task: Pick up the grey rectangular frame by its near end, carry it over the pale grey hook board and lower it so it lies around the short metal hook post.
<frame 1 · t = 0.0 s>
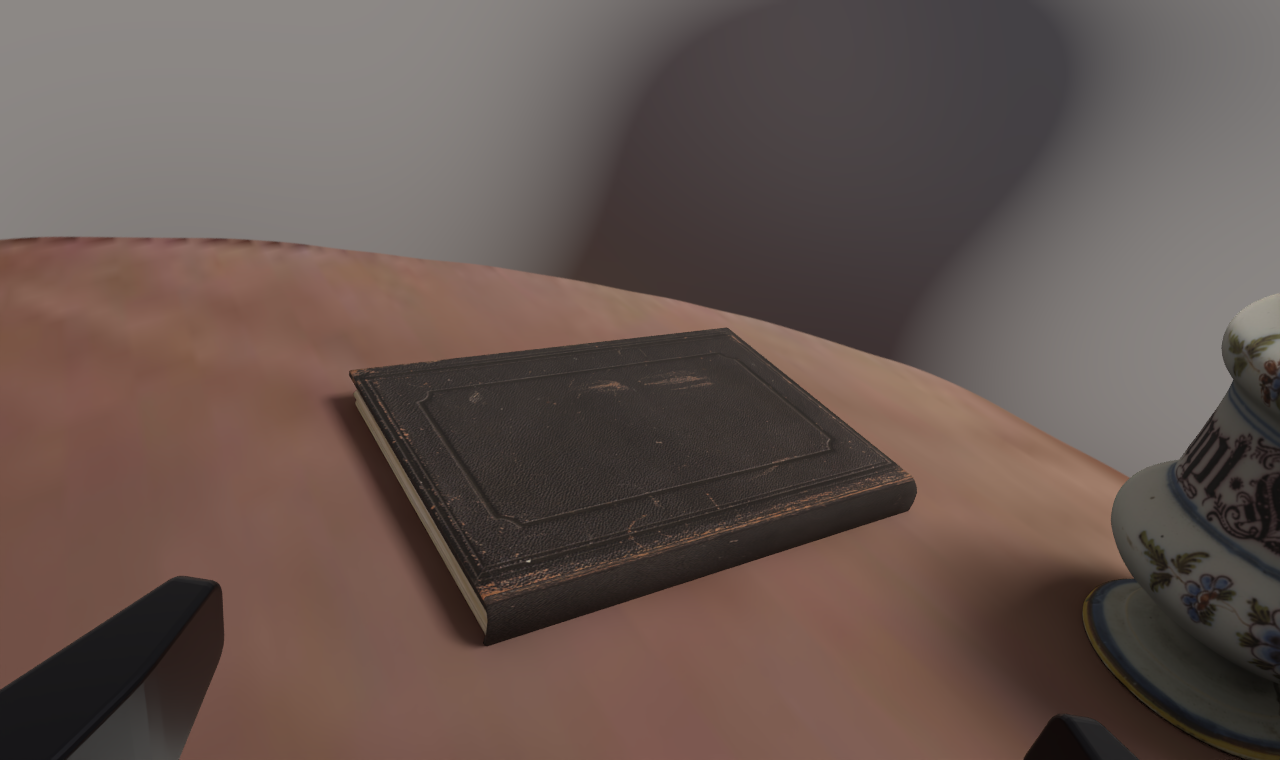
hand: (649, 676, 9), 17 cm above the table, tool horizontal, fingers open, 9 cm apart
hardcover book: (633, 469, 42), on the table
apothecary jar: (1194, 668, 37), on the table
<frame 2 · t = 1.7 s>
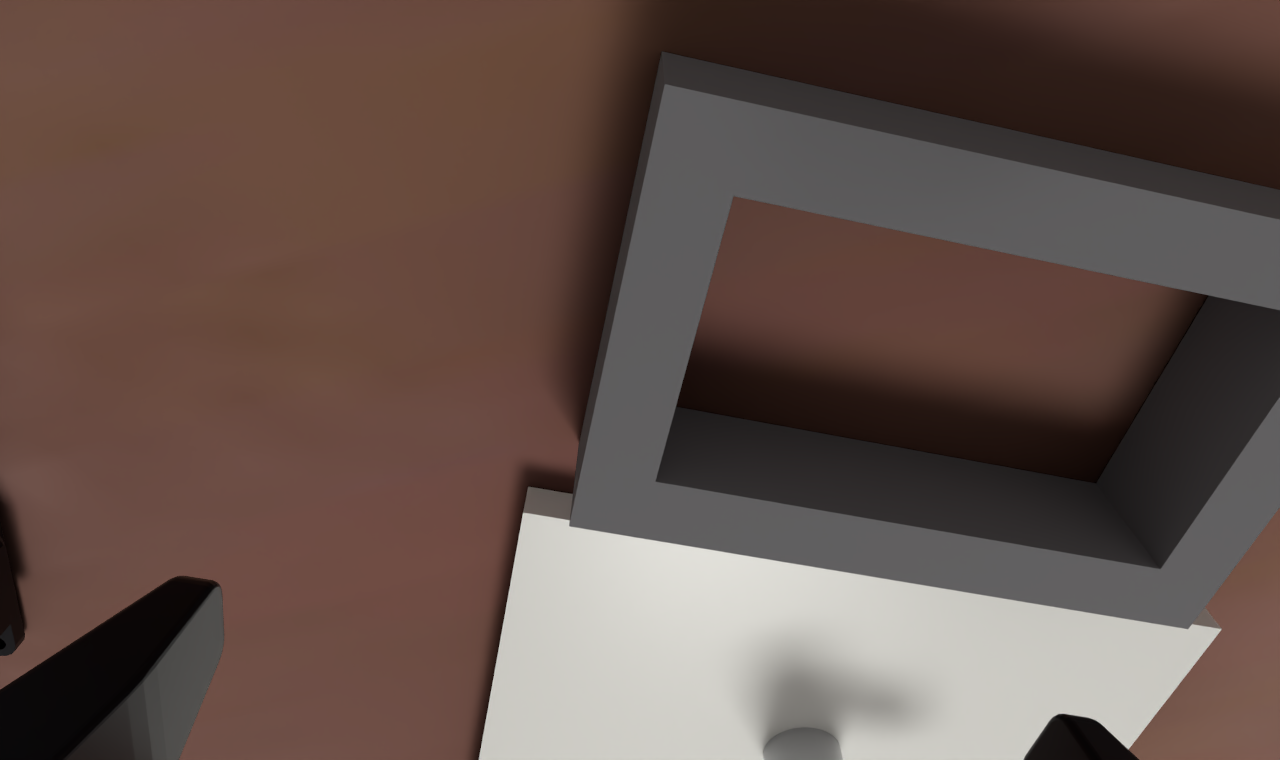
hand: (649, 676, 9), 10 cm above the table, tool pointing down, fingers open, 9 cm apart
grey rectangular frame: (928, 333, 19), on the table
hook board: (796, 722, 25), on the table
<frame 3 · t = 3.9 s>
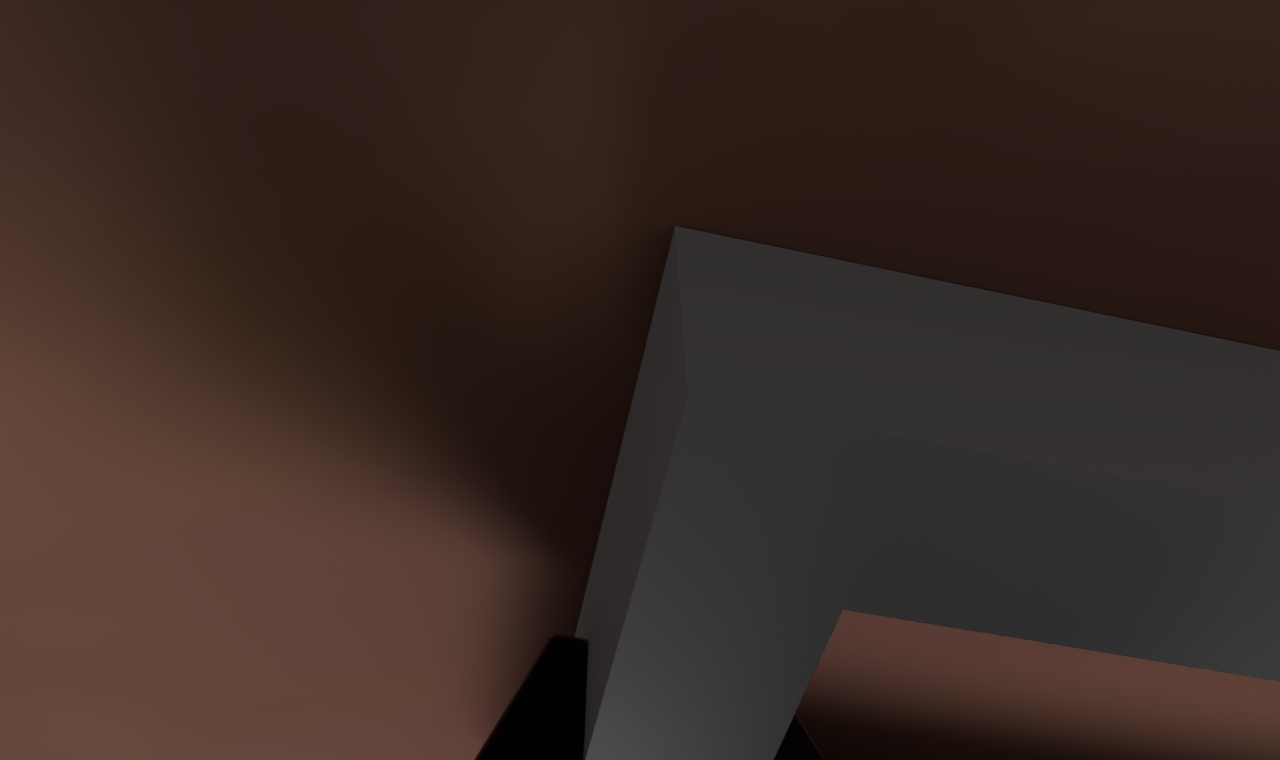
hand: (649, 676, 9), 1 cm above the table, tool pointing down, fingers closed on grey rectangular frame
grey rectangular frame: (1135, 671, 11), on the table, touching gripper
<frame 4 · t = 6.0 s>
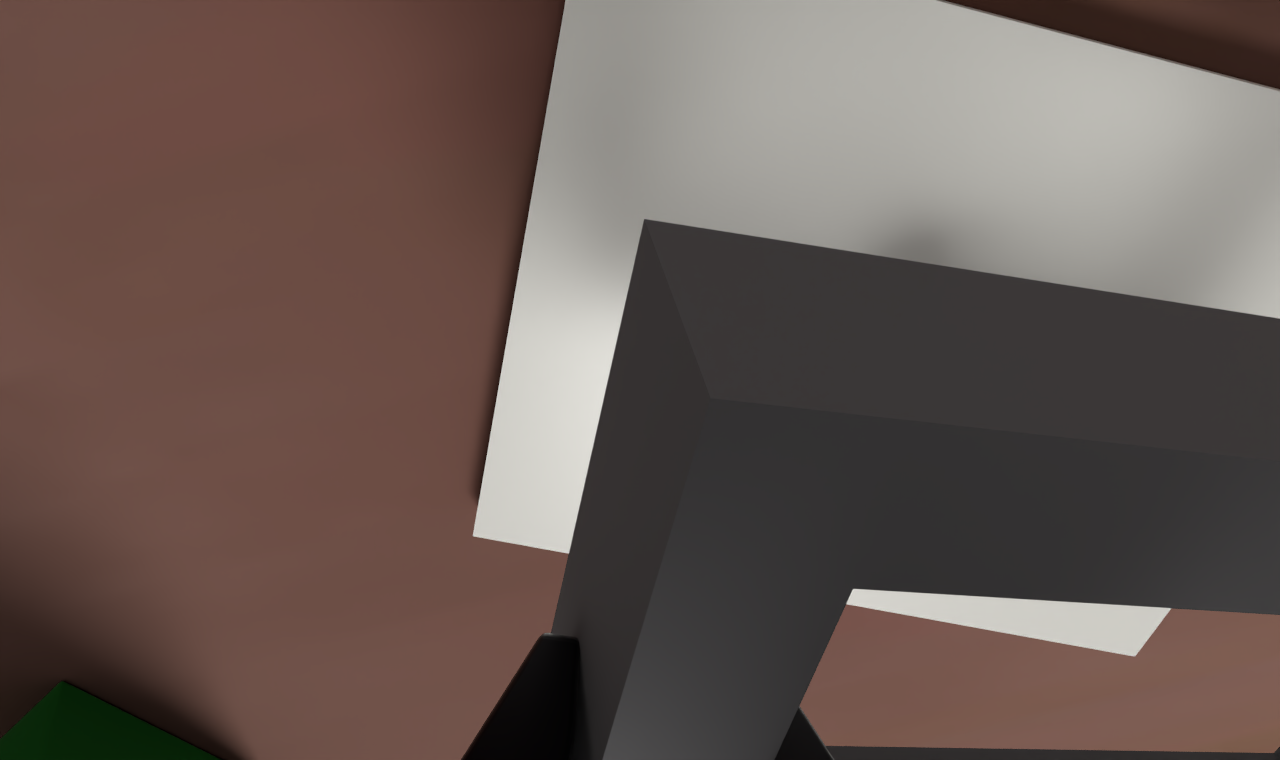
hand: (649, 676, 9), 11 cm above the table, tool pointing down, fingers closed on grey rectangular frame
grey rectangular frame: (1074, 609, 11), point 9 cm above the table, tilted 8°, touching gripper
hook board: (911, 348, 19), on the table
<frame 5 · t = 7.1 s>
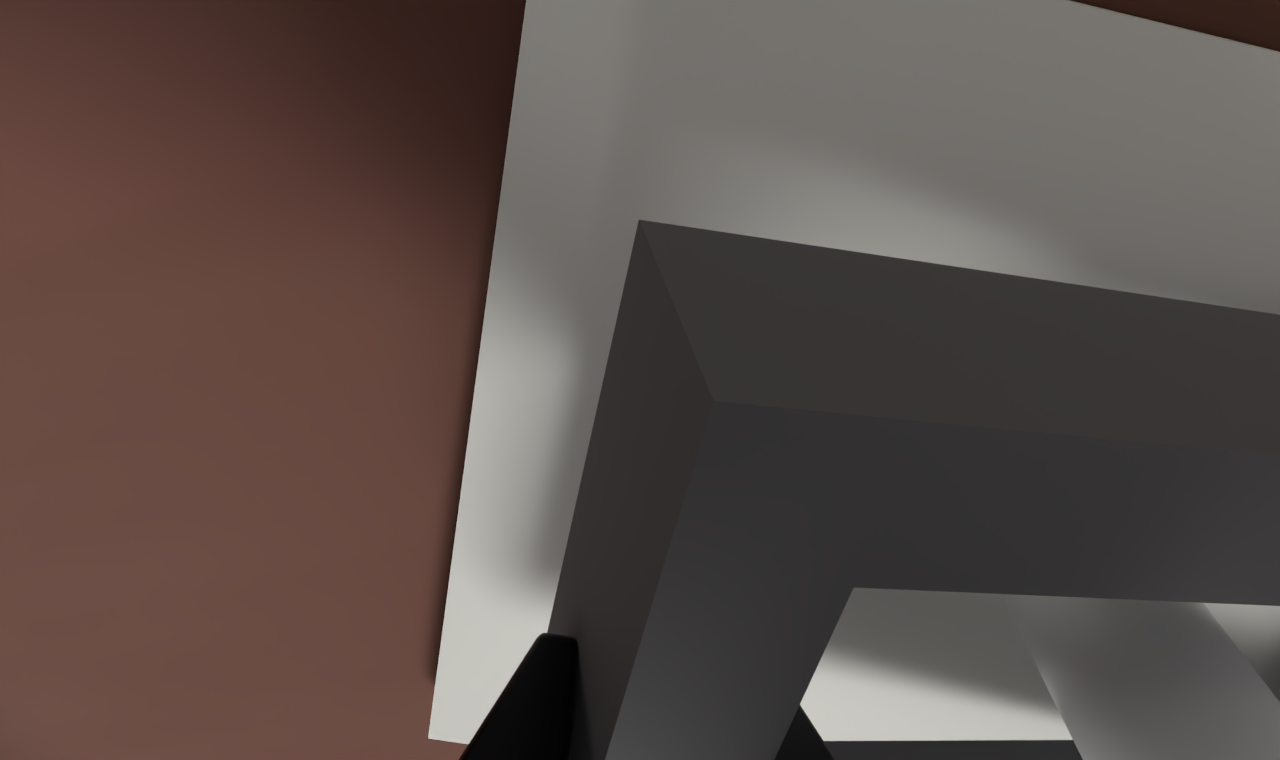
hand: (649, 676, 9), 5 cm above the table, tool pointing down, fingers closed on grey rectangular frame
grey rectangular frame: (1065, 601, 12), point 3 cm above the table, tilted 10°, touching gripper
hook board: (1028, 493, 14), on the table
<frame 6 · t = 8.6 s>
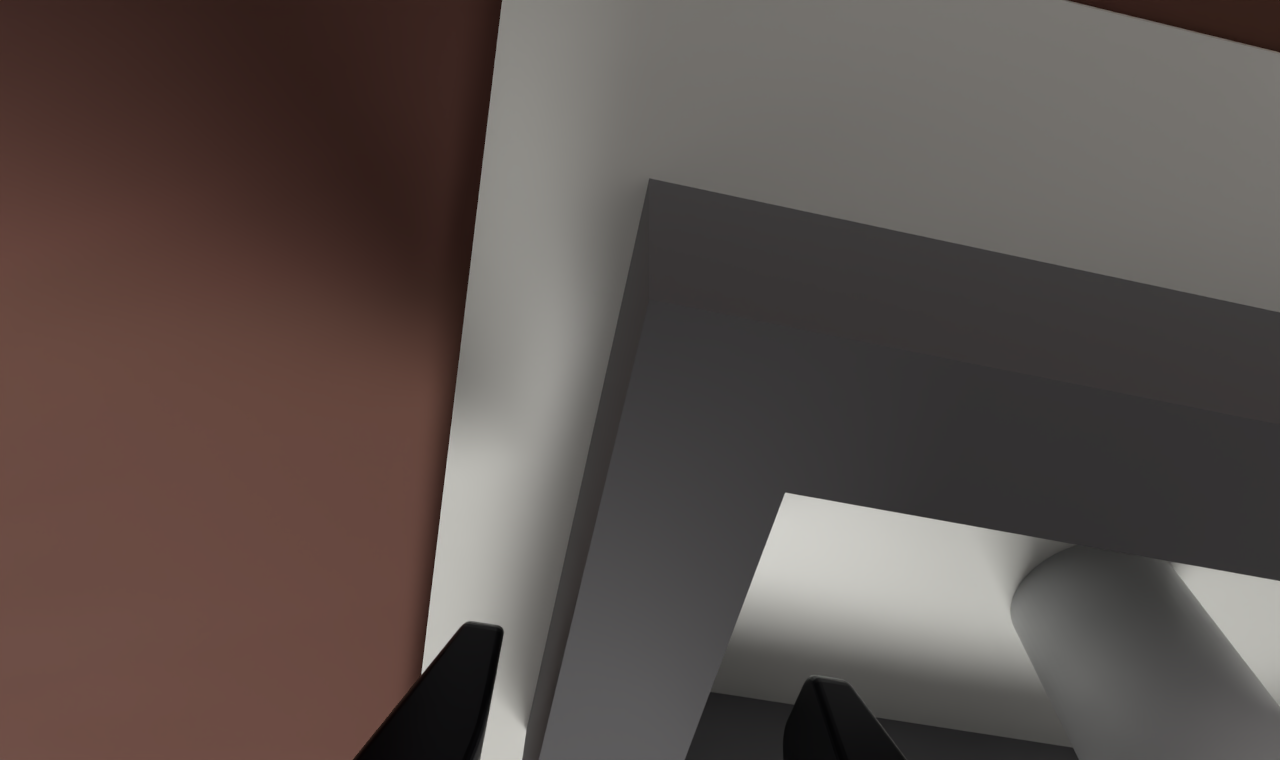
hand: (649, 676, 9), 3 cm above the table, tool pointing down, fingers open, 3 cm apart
grey rectangular frame: (1073, 595, 12), point 1 cm above the table, touching hook board
hook board: (1061, 551, 13), on the table
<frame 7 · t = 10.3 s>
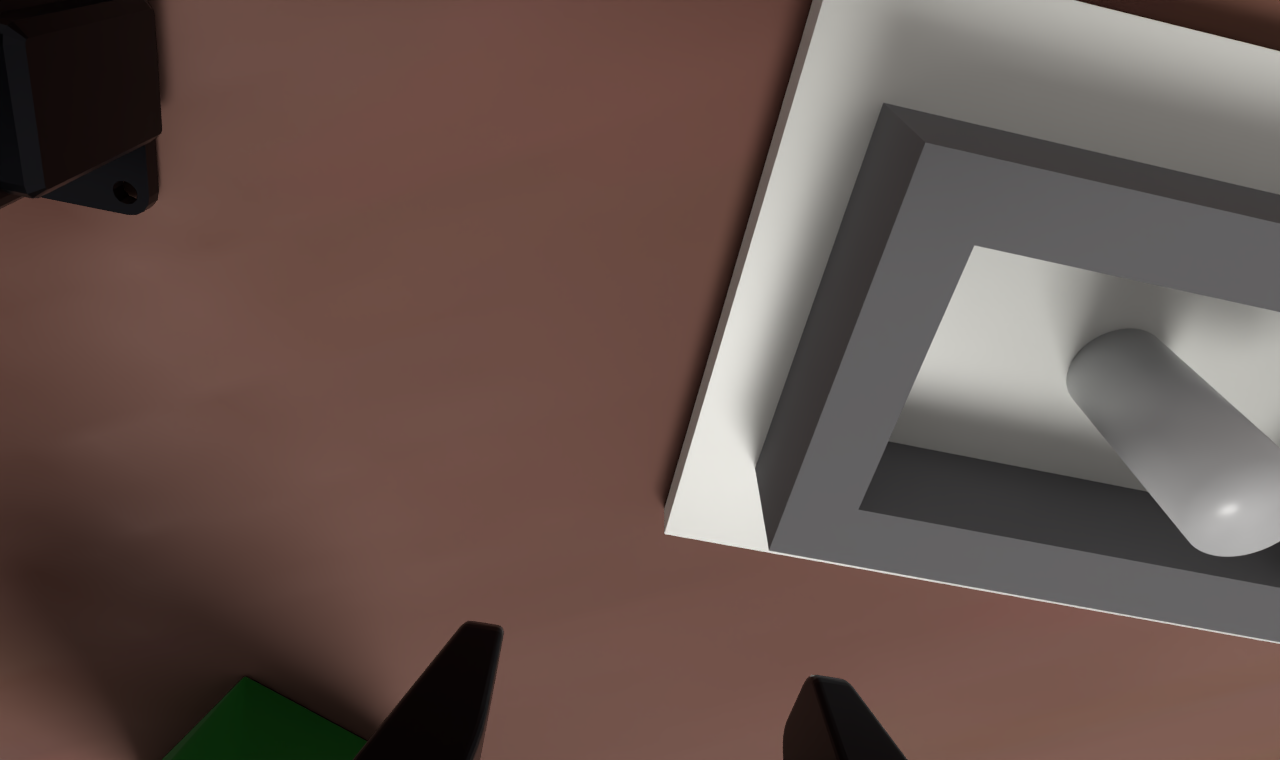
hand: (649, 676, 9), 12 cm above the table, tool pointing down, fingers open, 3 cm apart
grey rectangular frame: (1105, 368, 19), point 1 cm above the table, touching hook board
hook board: (1096, 350, 20), on the table
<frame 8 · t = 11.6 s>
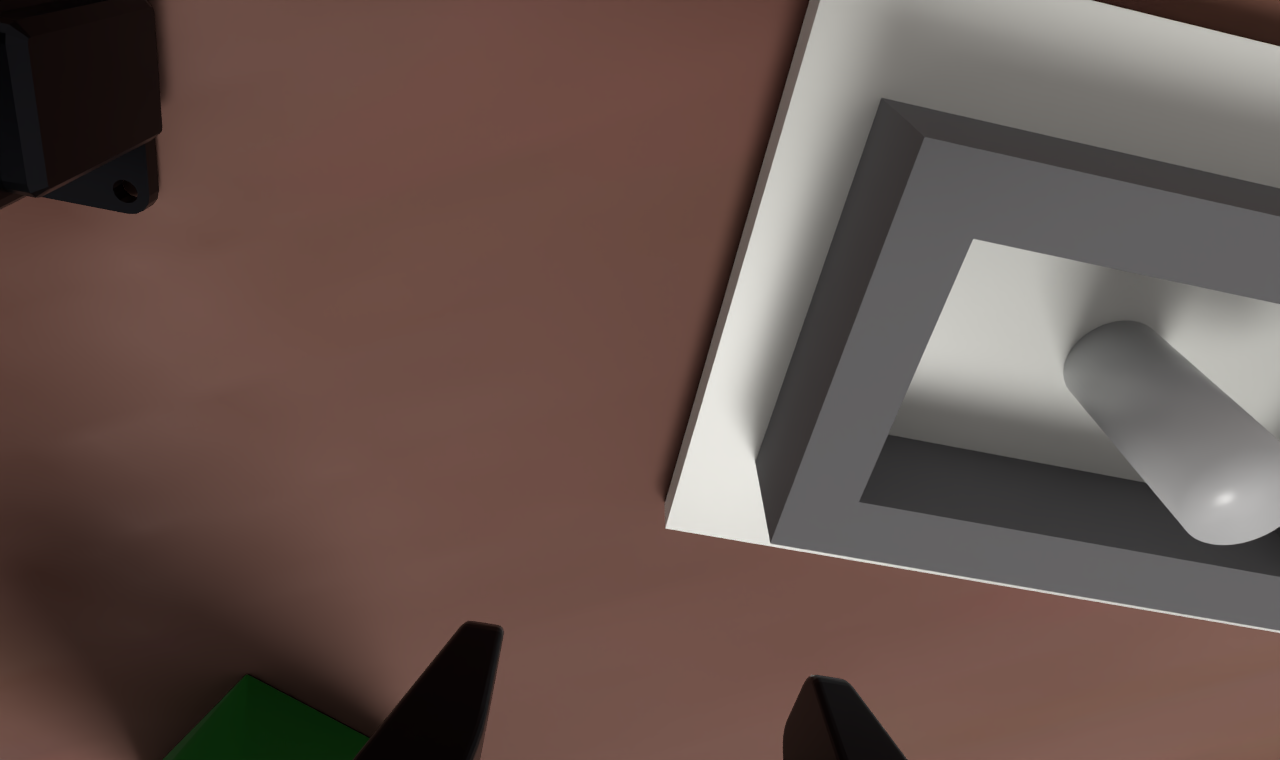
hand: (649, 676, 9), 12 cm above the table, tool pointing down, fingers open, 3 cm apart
grey rectangular frame: (1101, 360, 20), point 1 cm above the table, touching hook board
hook board: (1092, 343, 20), on the table
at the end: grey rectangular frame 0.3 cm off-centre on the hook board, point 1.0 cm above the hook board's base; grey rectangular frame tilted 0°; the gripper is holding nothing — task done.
